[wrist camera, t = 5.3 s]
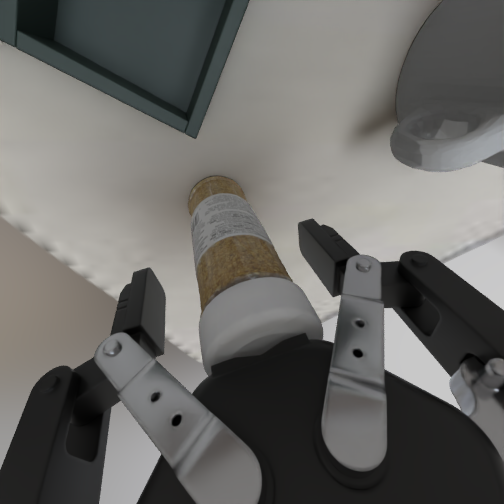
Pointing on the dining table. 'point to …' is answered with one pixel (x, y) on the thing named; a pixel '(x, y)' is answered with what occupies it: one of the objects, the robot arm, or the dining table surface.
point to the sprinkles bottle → (241, 279)
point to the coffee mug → (453, 89)
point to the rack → (133, 48)
